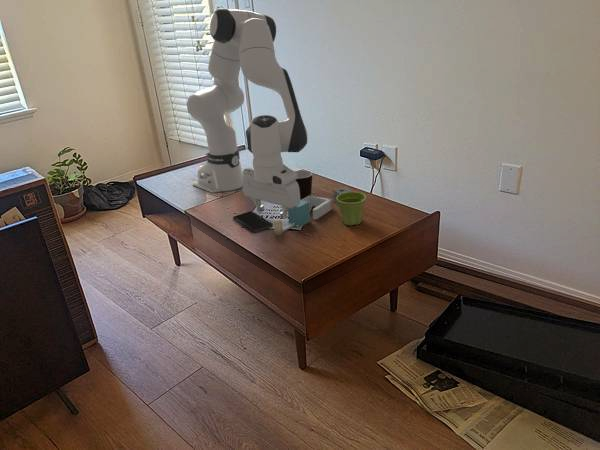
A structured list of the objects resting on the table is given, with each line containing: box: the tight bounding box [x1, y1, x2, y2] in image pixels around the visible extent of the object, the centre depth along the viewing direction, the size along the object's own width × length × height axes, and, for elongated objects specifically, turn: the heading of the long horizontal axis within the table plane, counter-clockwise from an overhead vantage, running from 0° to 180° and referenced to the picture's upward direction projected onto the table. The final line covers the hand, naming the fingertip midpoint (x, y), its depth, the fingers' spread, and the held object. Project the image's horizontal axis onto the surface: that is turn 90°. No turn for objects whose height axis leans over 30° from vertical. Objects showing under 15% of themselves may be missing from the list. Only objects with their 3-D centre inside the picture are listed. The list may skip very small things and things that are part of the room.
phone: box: [232, 210, 274, 234], centre depth 163 cm, size 8×1×15 cm
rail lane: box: [302, 194, 333, 220], centre depth 167 cm, size 9×10×4 cm
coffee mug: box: [295, 169, 313, 200], centre depth 177 cm, size 12×9×10 cm
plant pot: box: [336, 191, 367, 226], centre depth 156 cm, size 9×9×9 cm
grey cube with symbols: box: [332, 186, 353, 208], centre depth 171 cm, size 5×5×5 cm
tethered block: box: [272, 200, 311, 237], centre depth 156 cm, size 5×14×7 cm, turn 138°
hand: (272, 214), depth 150 cm, fingers open, 8 cm apart
